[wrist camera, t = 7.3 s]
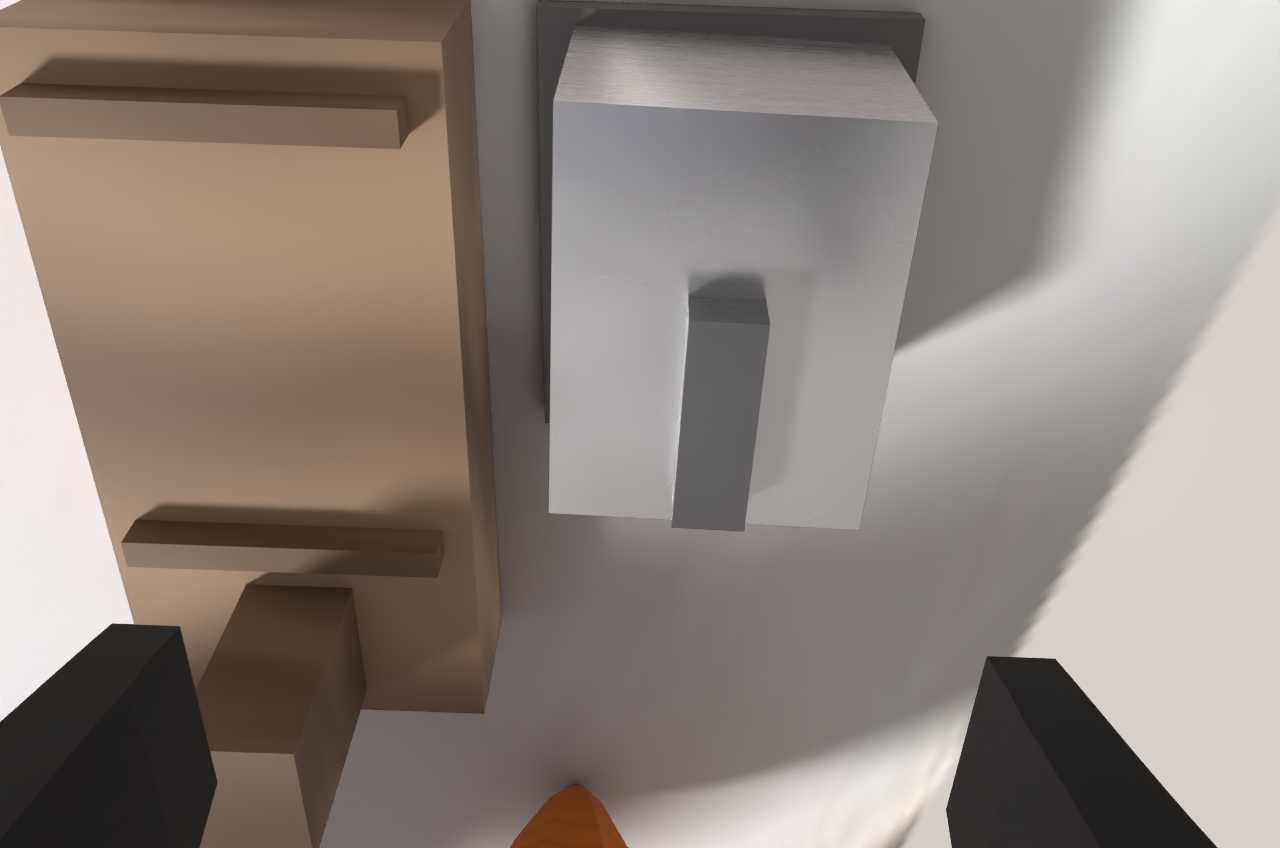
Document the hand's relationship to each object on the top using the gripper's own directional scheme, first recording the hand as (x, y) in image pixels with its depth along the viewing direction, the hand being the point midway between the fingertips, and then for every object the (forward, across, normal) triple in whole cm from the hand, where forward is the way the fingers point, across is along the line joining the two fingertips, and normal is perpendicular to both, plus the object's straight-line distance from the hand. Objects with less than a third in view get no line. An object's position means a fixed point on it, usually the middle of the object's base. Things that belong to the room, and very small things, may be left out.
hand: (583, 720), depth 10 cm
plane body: (+10, +5, +2) cm, 11 cm away
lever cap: (+10, -2, -1) cm, 10 cm away
